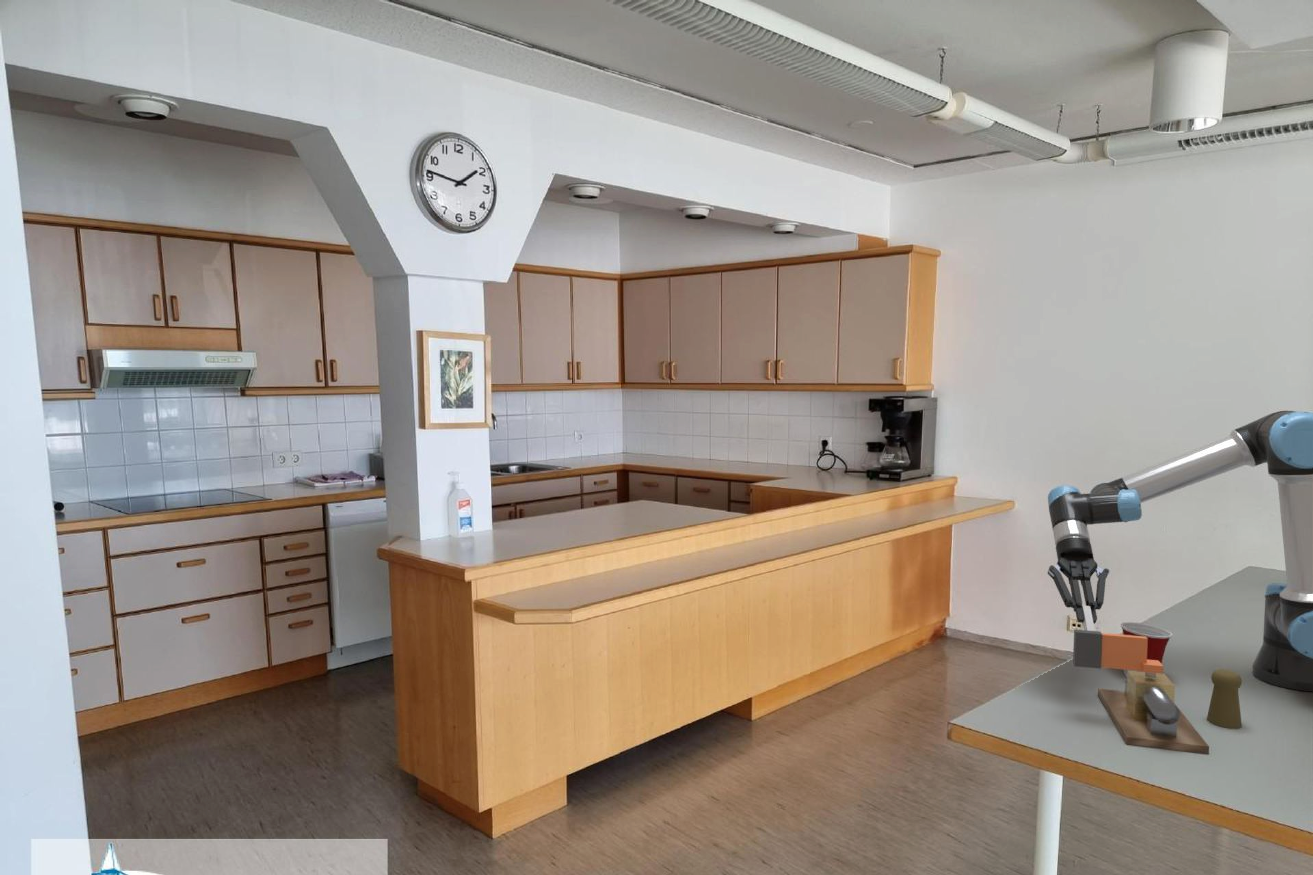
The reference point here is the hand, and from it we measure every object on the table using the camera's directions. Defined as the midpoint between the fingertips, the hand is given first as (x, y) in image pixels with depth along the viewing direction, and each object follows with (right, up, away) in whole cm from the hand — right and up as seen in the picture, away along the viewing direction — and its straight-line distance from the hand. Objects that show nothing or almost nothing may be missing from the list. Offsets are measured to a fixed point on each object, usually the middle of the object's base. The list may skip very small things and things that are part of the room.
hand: (1090, 635), depth 177 cm
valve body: (+9, -15, -7) cm, 19 cm away
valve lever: (+2, -6, -6) cm, 9 cm away
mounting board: (+9, -16, -7) cm, 20 cm away
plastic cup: (+23, -15, +19) cm, 33 cm away
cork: (+24, -17, -7) cm, 30 cm away
